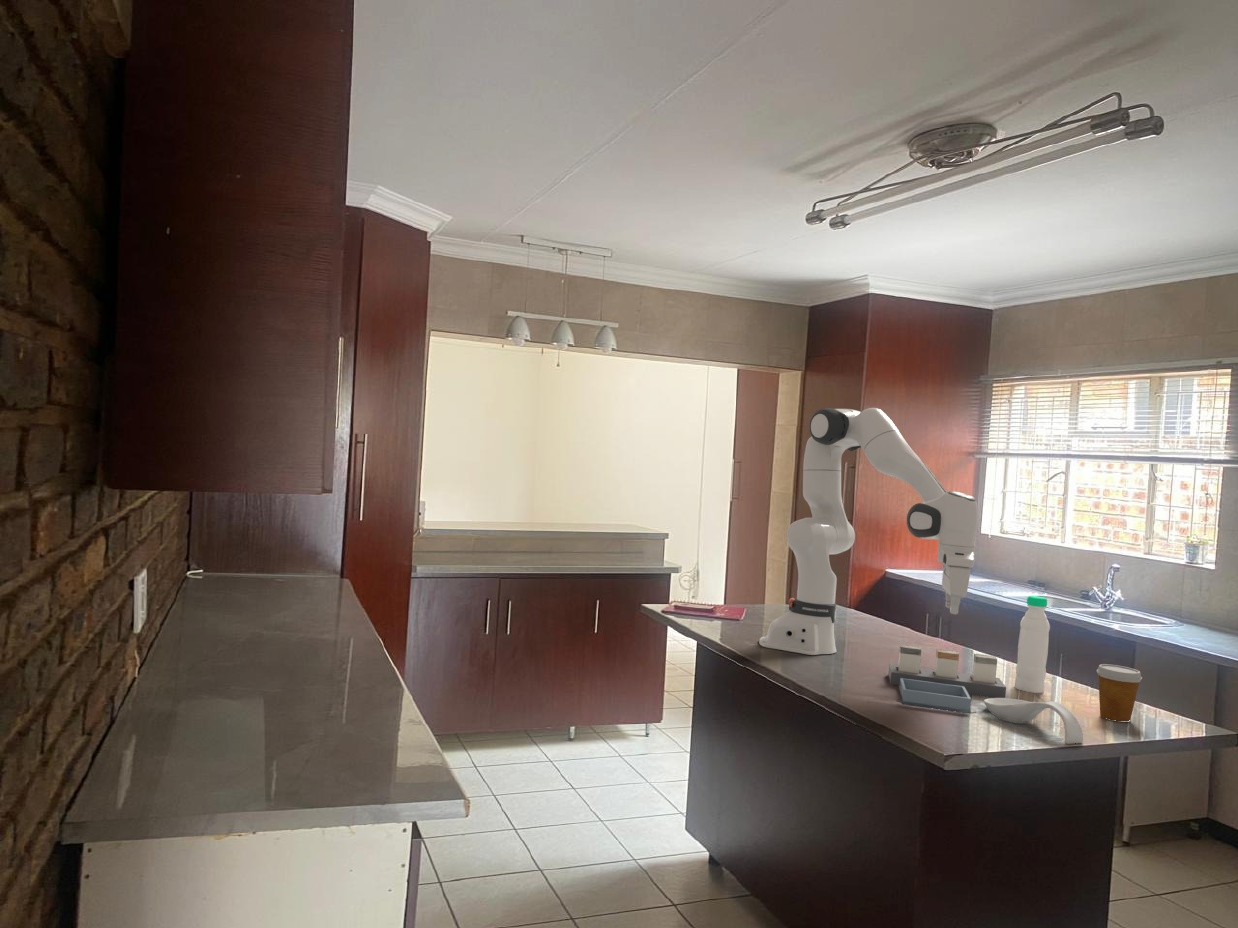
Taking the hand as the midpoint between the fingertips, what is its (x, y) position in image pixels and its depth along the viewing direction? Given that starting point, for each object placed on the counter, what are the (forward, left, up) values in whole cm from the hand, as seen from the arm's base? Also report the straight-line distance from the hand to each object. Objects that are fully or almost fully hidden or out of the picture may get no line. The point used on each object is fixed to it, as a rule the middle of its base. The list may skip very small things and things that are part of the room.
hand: (951, 610), depth 228 cm
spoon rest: (+16, -23, -21) cm, 35 cm away
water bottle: (+22, +11, -21) cm, 32 cm away
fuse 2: (+9, 0, -19) cm, 21 cm away
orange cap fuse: (0, 0, -19) cm, 19 cm away
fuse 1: (-9, 0, -19) cm, 21 cm away
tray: (-4, -14, -20) cm, 25 cm away
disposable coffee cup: (+38, -5, -21) cm, 44 cm away
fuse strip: (0, 0, -20) cm, 20 cm away
